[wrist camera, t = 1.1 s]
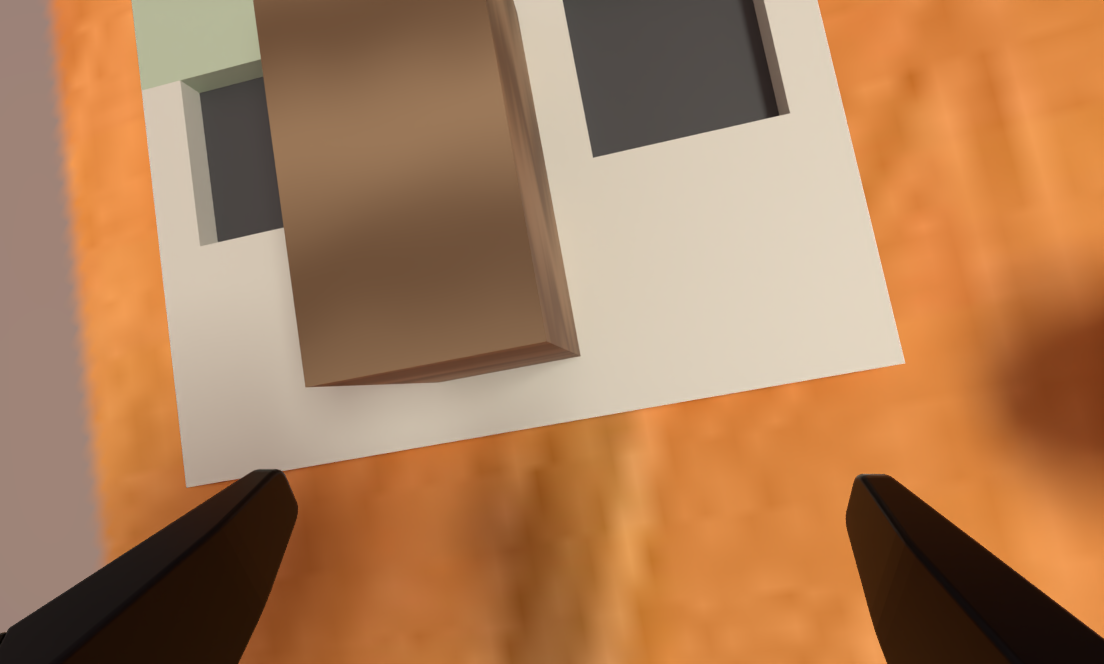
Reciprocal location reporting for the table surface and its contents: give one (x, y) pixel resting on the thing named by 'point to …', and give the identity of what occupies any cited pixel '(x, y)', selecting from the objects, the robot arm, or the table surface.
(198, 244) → the trap board
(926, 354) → the table surface
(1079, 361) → the table surface
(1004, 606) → the robot arm
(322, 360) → the brown wooden block
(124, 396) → the table surface
